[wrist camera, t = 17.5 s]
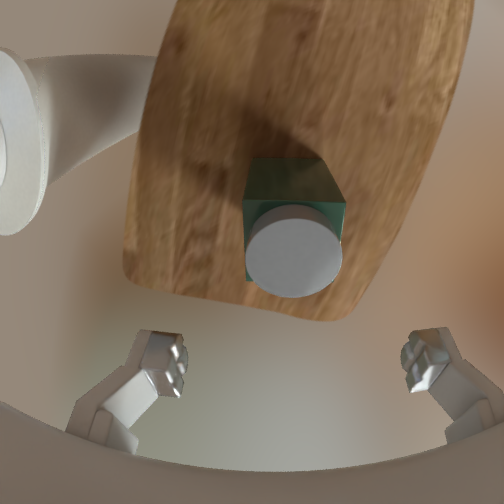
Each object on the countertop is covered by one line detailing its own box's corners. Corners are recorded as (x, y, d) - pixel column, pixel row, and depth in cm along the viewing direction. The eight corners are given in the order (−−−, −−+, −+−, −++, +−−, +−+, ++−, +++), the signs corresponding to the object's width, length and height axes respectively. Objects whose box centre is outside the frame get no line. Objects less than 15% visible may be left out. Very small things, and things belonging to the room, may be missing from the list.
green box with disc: (337, 300, 19) (353, 216, 15) (243, 299, 19) (238, 214, 15) (318, 221, 27) (323, 159, 24) (253, 220, 28) (252, 157, 24)
